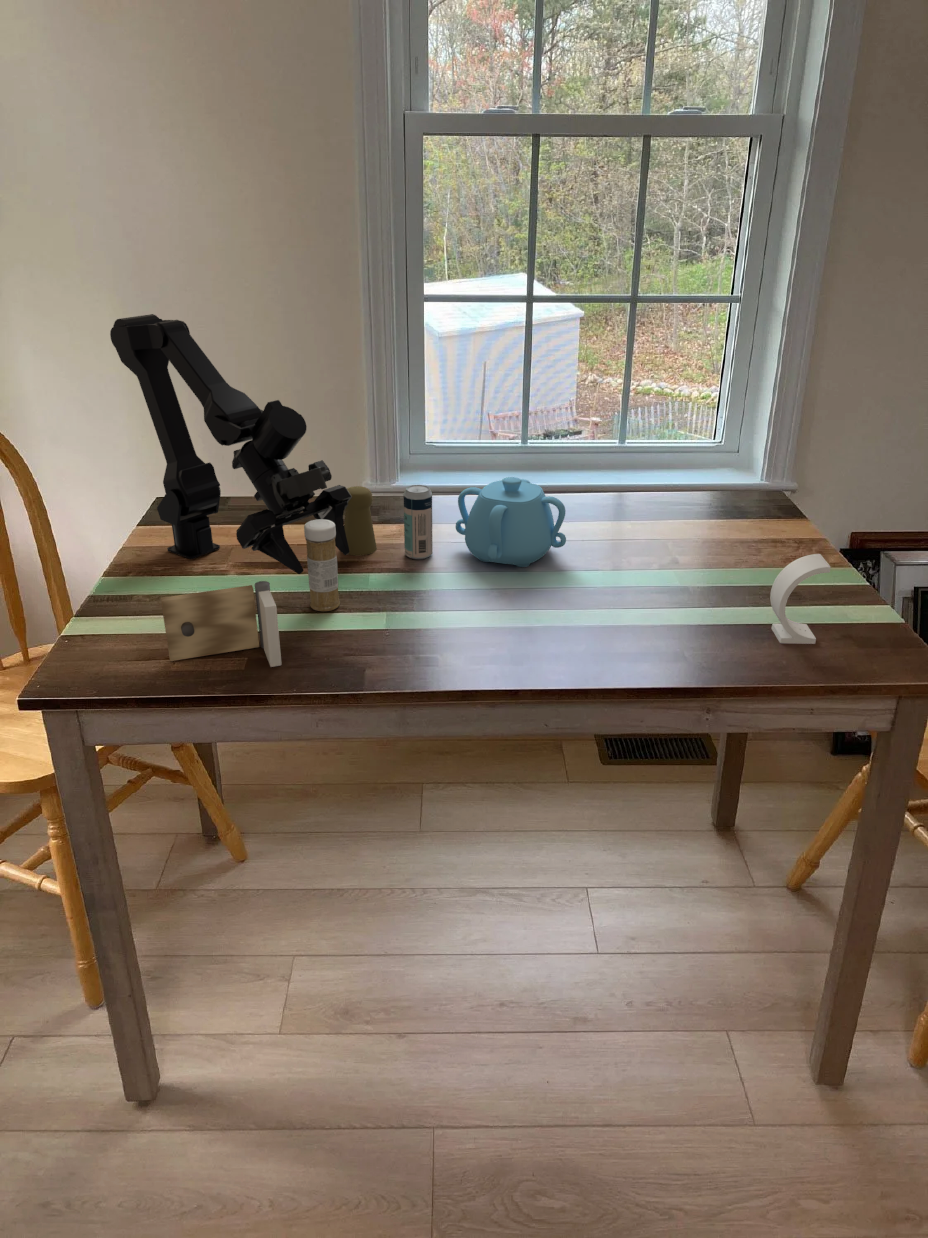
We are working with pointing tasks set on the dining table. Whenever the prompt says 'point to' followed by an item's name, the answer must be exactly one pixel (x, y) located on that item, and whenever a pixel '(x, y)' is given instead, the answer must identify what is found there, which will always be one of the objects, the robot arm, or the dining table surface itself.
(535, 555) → the decorative pot
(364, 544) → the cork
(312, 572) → the sprinkles bottle
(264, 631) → the door frame
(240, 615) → the door
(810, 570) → the headphone stand
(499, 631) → the dining table surface
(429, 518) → the beer can
